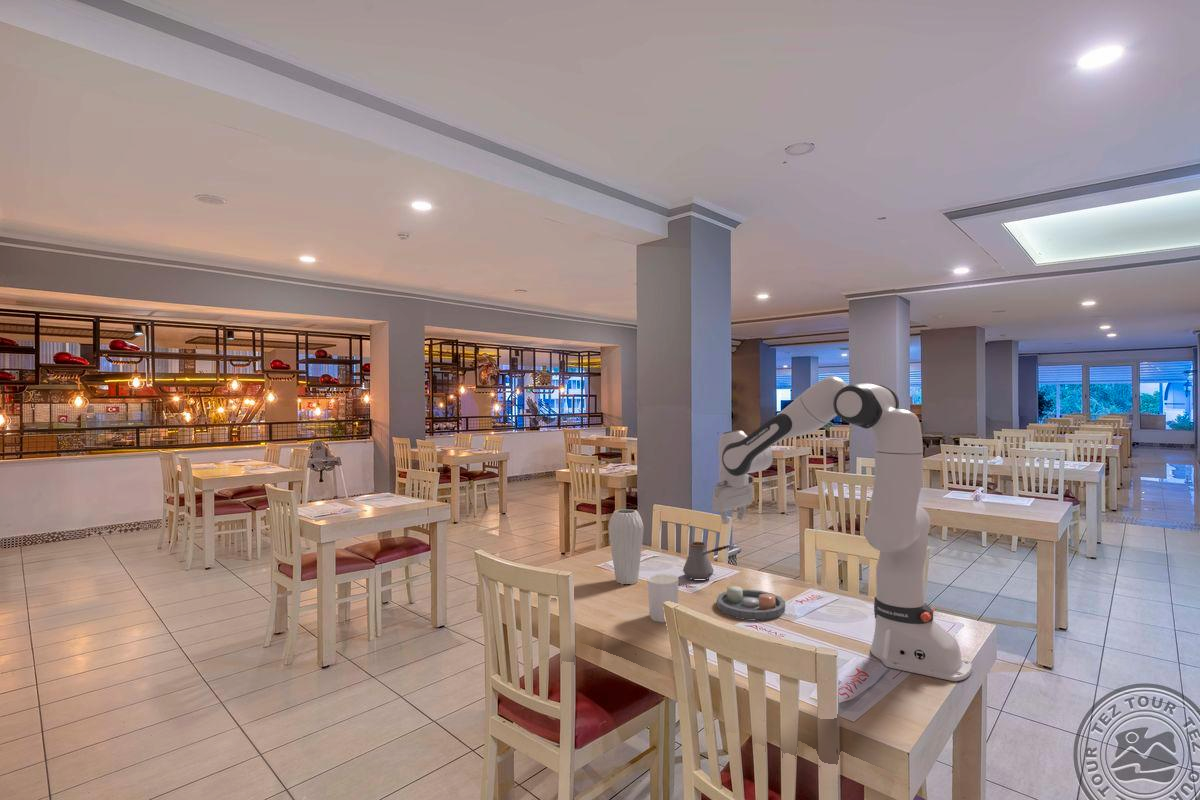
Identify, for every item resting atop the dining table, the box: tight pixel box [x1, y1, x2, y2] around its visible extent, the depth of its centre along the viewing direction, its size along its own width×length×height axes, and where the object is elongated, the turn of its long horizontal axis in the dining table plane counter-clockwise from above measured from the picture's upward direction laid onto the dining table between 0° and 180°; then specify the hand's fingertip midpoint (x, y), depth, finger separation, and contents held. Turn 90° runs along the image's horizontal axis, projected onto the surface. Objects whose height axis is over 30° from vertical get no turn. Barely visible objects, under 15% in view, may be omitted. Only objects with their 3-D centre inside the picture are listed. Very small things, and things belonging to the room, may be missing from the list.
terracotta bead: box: [759, 594, 775, 610], centre depth 178 cm, size 5×5×4 cm
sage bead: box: [726, 585, 744, 603], centre depth 186 cm, size 5×5×4 cm
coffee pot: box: [682, 541, 733, 580], centre depth 211 cm, size 21×12×15 cm, turn 38°
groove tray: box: [716, 588, 786, 621], centre depth 182 cm, size 21×21×2 cm
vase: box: [607, 508, 644, 585], centre depth 212 cm, size 13×13×26 cm
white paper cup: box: [646, 573, 680, 623], centre depth 176 cm, size 10×10×12 cm
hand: (733, 521), depth 187 cm, fingers open, 8 cm apart
